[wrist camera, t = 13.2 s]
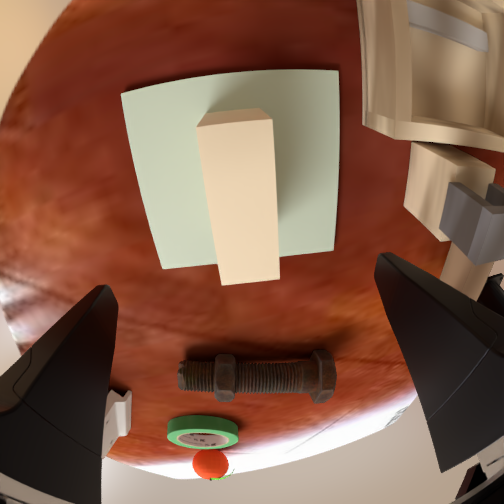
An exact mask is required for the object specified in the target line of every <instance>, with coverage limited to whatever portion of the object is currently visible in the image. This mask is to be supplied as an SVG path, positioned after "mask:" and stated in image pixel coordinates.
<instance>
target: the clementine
mask: <svg viewBox="0 0 504 504" xmlns="http://www.w3.org/2000/svg"><path fill="white" fill-rule="evenodd" d="M192 464H193V468H194V470H195V472H196V473H197V474H198V475H199V476H200V477H202V478H204V479H210V480H215V479H216V480H219V479H224V478H226V477H224V478H221V477H222V476H224V475H225V473H226V472H227V470H228V466H229V464H228V460H227V458H226V456H225V455H224V454H223V453H222V452H220V451H219V450H216V449H203V450H201V451H199V452H198V453H197V454H196V455H195V456H194V458H193V463H192ZM233 471H234V470H233ZM232 473H233V472H232ZM232 473H231V474H232ZM231 474H230V475H231ZM230 475H229V476H230ZM227 477H228V476H227Z"/></svg>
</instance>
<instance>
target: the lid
mask: <svg viewBox="0 0 504 504" xmlns="http://www.w3.org/2000/svg"><path fill="white" fill-rule="evenodd" d="M121 98H122V104H123V110H124V116H125V122H126V127H127V132H128V137H129V142H130V147H131V152H132V157H133V161H134V166H135V170H136V174H137V179H138V183H139V187H140V191H141V195H142V199H143V203H144V207H145V210H146V214H147V218H148V221H149V225H150V229H151V232H152V236H153V239H154V242H155V246H156V249H157V252H158V256H159V259H160V262H161V265H162V268H163V269H169V268H179V267H188V266H198V265H207V264H217V263H218V267H219V272H220V278H221V283H222V285H230V284H239V283H249V282H258V281H266V280H275V279H280V272H279V257H280V256H289V255H298V254H307V253H316V252H324V251H333V249H334V238H335V226H336V212H337V196H338V176H339V137H340V110H339V73H338V71H333V70H300V69H295V70H261V71H246V72H235V73H225V74H216V75H209V76H202V77H195V78H189V79H183V80H178V81H172V82H167V83H162V84H158V85H153V86H149V87H145V88H140V89H136V90H133V91H129V92H125V93H121Z"/></svg>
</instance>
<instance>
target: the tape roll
mask: <svg viewBox="0 0 504 504" xmlns="http://www.w3.org/2000/svg"><path fill="white" fill-rule="evenodd" d="M191 433H211V434H216V435H196V434H191ZM167 437H168V439H169V440H170V441H171V442H173V443H175V444H177V445H180V446H184V447H188V448H195V449H218V448H224V447H228V446H231V445H233V444H235V443H237V442H238V439H239V438H238V427H237V425H236V424H235V423H234V422H232V421H230V420H227V419H223V418H219V417H213V416H203V415H190V416H181V417H177V418H174V419H172V420H170V421H169V422H168V432H167Z"/></svg>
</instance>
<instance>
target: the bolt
mask: <svg viewBox="0 0 504 504" xmlns="http://www.w3.org/2000/svg"><path fill="white" fill-rule="evenodd" d="M177 375H178V387H179V388H180V389H181V390H183V389H184V391H186V389H187V391H189V390H191V391H192V390H194V391H196V390H197V391H198V392H199V391H201V392H202V391H204V392H206V391H208V392H210V391H211V392H213V391H214V392H215V398H216V399H217V400H218V401H219V402H231V401H232V400H233V399H234V397H235V393H237V392H239V393H241V392H242V393H244V392H246V394H247V393H248V392H249V393H250V394H251V392H252V393H253V394H254V393H255V392H256V393H257V394H258V392H259V393H260V394H261V393H262V392H263V394H264V393H265V392H266V393H267V394H268V392H269V393H272V392H273V393H275V392H276V393H279V392H280V393H282V392H283V393H285V392H286V393H288V392H290V393H292V392H293V393H309V394H310V396H311V398H312V400H313V402H314V404H315V403H325V402H326V401H328V400H329V399H330V398H331V397H332V396H333V393H334V390H335V385H336V379H337V374H336V368H335V363H334V360H333V357H332V355H331V354H330V353H329V352H328V351H326V350H314V351H313V353H312V355H311V358H310V360H309V361H298V362H294V363H293V362H291V363H275V364H274V363H272V364H270V363H268V364H267V363H265V364H263V363H262V364H260V363H258V365H257V363H255V364H253V363H251V364H250V363H248V364H246V363H244V364H243V363H241V364H240V363H239V362H238V363H237V364H236V363H235V357H234V356H233V355H232V354H218V355H217V356H216V358H215V362H214V363H212V361H211V362H210V363H209V362H207V363H206V362H205V361H204V362H202V361H200V362H199V361H197V362H196V361H195V360H194V361H193V362H192V361H191V360H190V362H189V360H187V361H186V360H183V361H181V362H180V363H179V370H178V373H177Z"/></svg>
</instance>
